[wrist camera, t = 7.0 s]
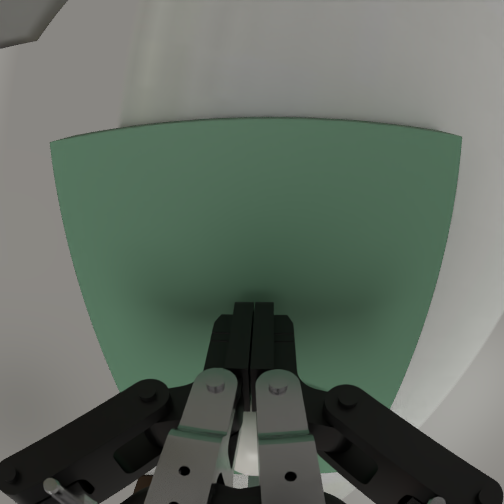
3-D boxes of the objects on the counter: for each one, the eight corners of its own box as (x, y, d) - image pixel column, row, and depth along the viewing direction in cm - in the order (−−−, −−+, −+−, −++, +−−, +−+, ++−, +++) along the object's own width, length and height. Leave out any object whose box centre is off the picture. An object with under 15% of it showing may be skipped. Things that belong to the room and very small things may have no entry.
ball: (217, 475, 17) (223, 409, 21) (294, 478, 17) (294, 411, 20) (204, 469, 14) (212, 385, 17) (302, 473, 13) (301, 388, 17)
